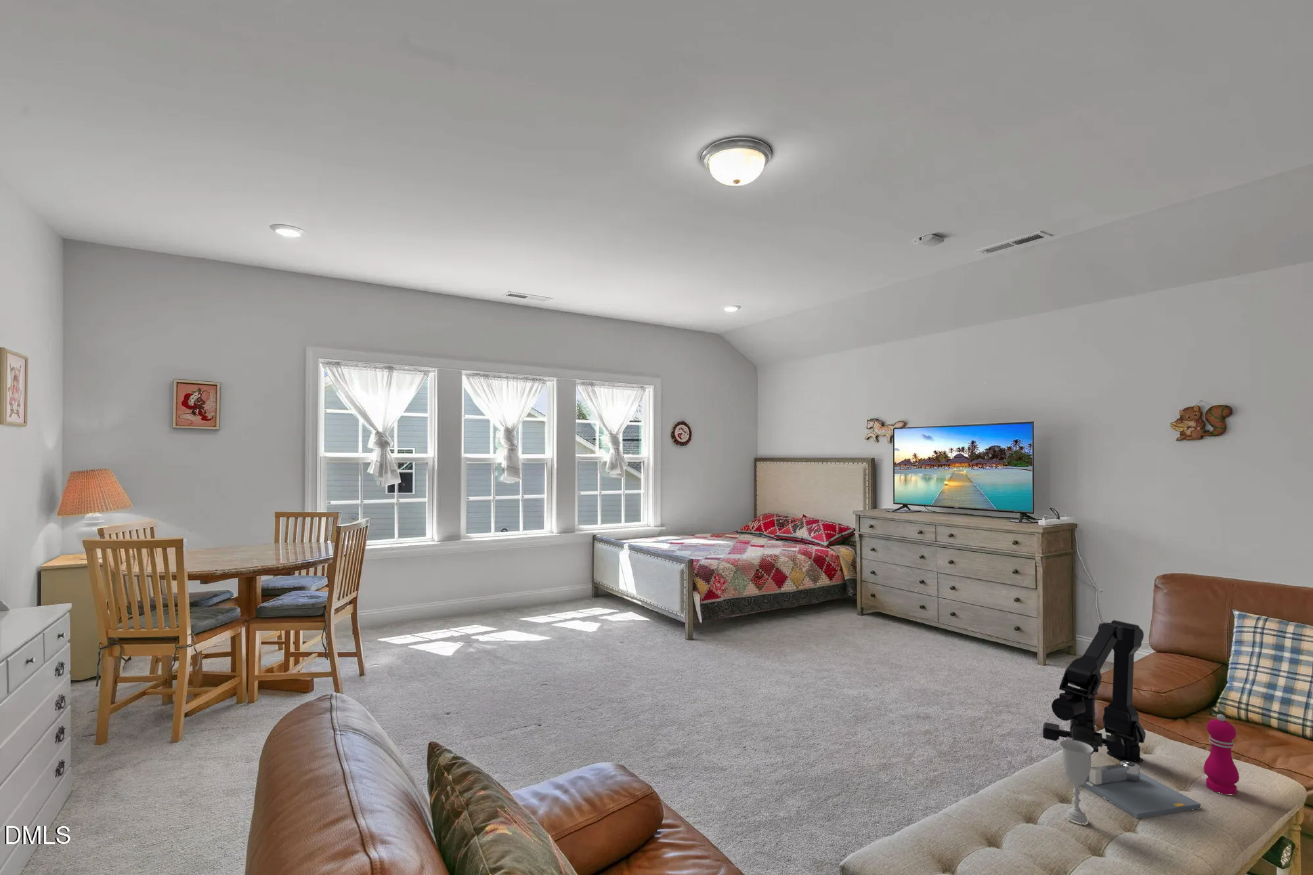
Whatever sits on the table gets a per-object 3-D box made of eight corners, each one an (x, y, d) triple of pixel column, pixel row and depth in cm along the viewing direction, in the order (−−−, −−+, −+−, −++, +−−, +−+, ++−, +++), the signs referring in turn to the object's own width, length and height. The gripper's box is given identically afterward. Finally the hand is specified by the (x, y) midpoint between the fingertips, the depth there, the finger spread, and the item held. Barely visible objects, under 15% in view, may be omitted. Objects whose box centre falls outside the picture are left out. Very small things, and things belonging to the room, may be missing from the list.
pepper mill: (1246, 797, 170) (1246, 721, 170) (1214, 794, 172) (1214, 718, 172) (1227, 783, 177) (1227, 710, 177) (1197, 780, 179) (1197, 707, 179)
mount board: (1068, 777, 180) (1068, 772, 180) (1127, 769, 185) (1127, 764, 185) (1137, 818, 161) (1137, 813, 161) (1200, 808, 165) (1200, 803, 165)
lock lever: (1128, 772, 180) (1128, 757, 180) (1144, 780, 176) (1144, 765, 176) (1085, 778, 177) (1085, 763, 177) (1099, 787, 172) (1099, 771, 172)
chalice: (1082, 830, 155) (1082, 755, 155) (1053, 816, 161) (1053, 743, 161) (1099, 822, 159) (1099, 748, 159) (1071, 808, 165) (1071, 737, 165)
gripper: (1042, 715, 178) (1042, 772, 178) (1126, 731, 168) (1126, 791, 168) (1043, 701, 187) (1043, 755, 187) (1122, 716, 178) (1122, 773, 177)
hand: (1082, 768), depth 180 cm, fingers closed
